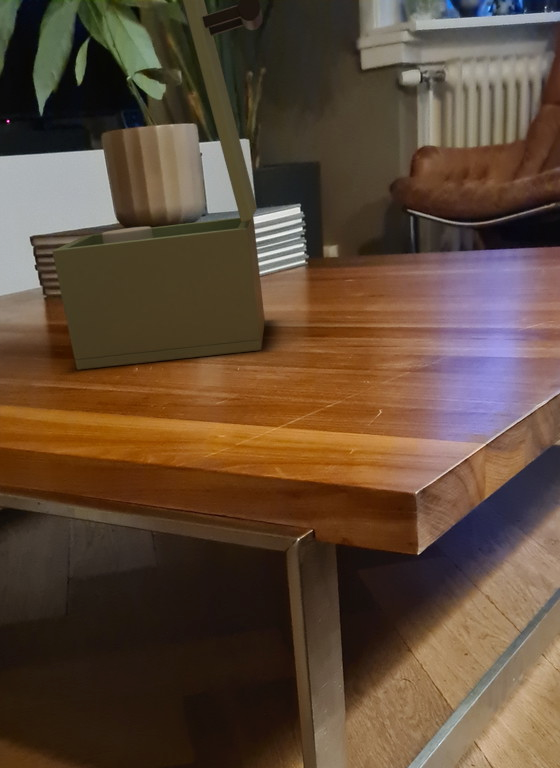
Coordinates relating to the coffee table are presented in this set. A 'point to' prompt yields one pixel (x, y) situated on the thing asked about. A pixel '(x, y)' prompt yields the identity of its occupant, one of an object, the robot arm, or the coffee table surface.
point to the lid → (224, 87)
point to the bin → (163, 294)
